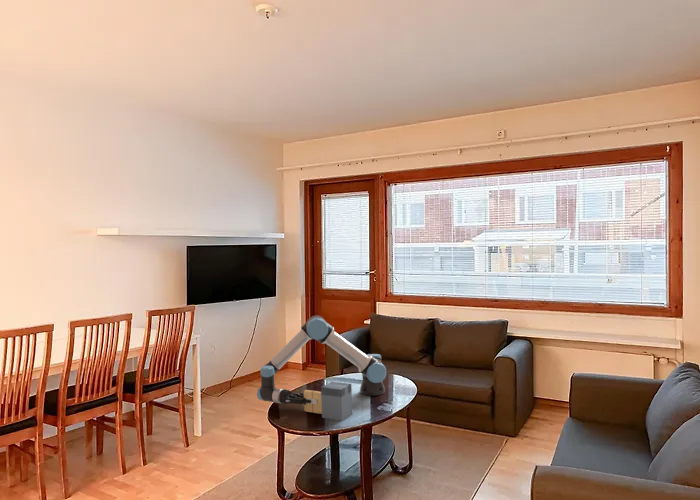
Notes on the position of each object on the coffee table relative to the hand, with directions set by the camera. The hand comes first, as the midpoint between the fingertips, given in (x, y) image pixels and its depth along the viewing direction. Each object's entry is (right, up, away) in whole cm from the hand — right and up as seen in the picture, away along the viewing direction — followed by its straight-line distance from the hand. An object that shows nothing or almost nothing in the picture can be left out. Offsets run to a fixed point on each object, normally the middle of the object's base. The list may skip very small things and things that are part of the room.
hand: (318, 400), depth 268 cm
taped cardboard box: (-1, -6, +1) cm, 6 cm away
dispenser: (+10, -6, -5) cm, 13 cm away
